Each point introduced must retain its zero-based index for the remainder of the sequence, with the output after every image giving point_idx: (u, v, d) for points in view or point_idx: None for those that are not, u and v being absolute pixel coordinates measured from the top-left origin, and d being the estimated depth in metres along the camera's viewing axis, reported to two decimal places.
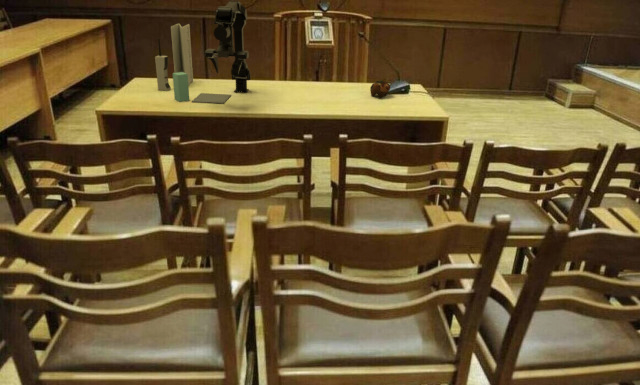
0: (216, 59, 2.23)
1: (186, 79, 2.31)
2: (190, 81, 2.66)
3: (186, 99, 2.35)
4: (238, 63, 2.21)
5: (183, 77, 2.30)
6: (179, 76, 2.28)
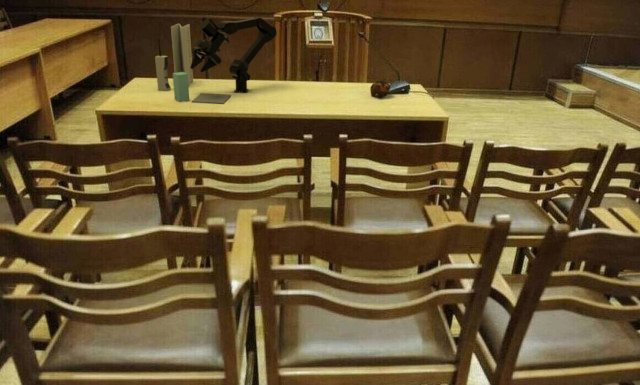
0: (198, 59, 2.40)
1: (186, 79, 2.31)
2: (190, 81, 2.66)
3: (186, 99, 2.35)
4: (205, 61, 2.31)
5: (183, 77, 2.30)
6: (179, 76, 2.28)
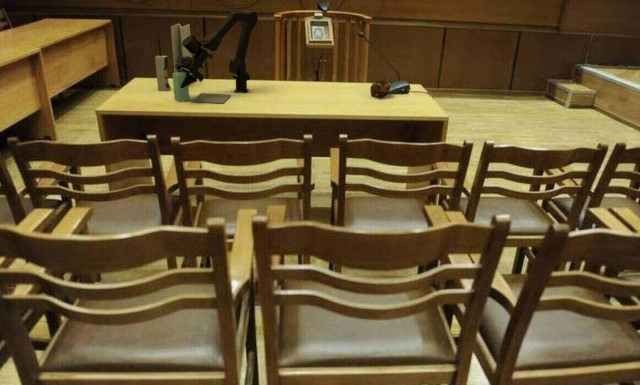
0: None
1: None
2: None
3: (186, 99, 2.35)
4: None
5: (183, 77, 2.30)
6: (179, 76, 2.28)
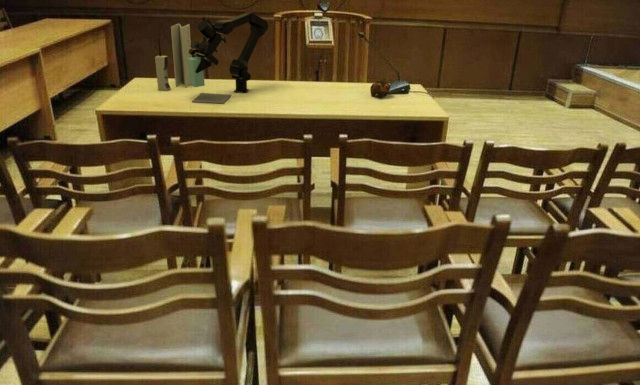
0: None
1: None
2: None
3: (201, 84, 2.34)
4: (200, 62, 2.29)
5: (198, 62, 2.29)
6: (194, 61, 2.28)
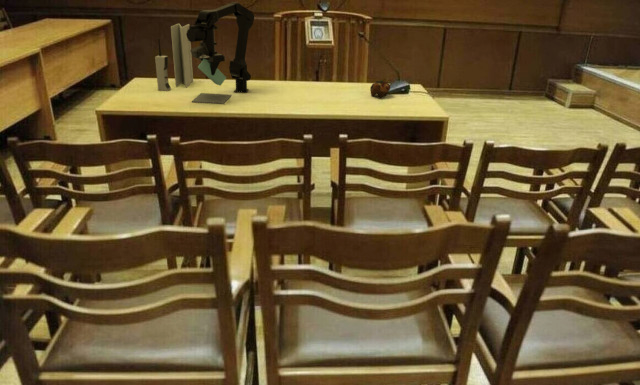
0: None
1: None
2: (190, 81, 2.66)
3: (223, 79, 2.39)
4: (210, 64, 2.30)
5: (208, 66, 2.31)
6: (205, 68, 2.30)
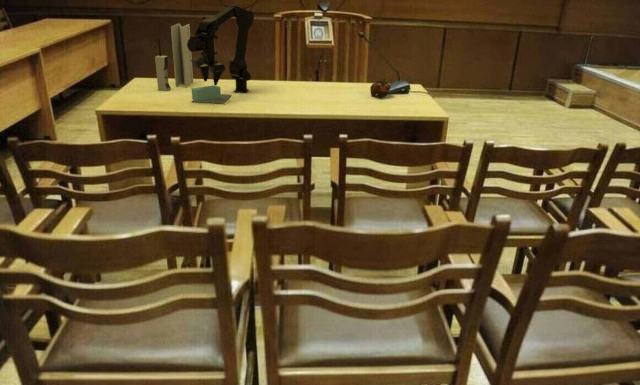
0: (205, 68, 2.39)
1: (201, 91, 2.33)
2: (190, 81, 2.66)
3: (219, 90, 2.39)
4: (213, 74, 2.31)
5: (200, 94, 2.33)
6: (198, 99, 2.33)
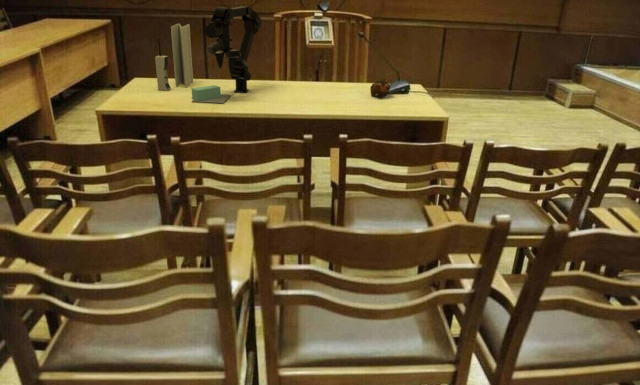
0: (220, 55, 2.42)
1: (201, 91, 2.33)
2: (190, 81, 2.66)
3: (219, 90, 2.39)
4: (228, 61, 2.34)
5: (200, 94, 2.33)
6: (198, 99, 2.33)
